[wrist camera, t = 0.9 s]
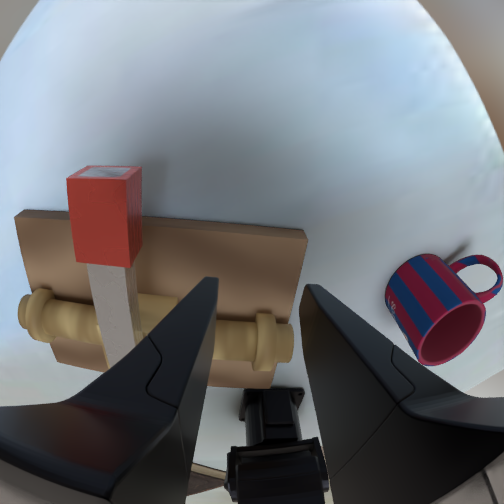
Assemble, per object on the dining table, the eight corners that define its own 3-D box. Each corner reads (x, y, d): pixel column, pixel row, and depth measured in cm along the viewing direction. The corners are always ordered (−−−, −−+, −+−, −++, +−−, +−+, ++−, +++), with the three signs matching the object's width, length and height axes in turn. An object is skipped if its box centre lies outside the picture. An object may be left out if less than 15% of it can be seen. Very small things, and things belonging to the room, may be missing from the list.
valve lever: (155, 375, 20) (150, 399, 18) (118, 369, 19) (111, 393, 17) (141, 166, 13) (126, 179, 11) (87, 165, 13) (66, 178, 11)
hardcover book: (106, 470, 45) (104, 479, 43) (153, 447, 38) (151, 459, 36) (171, 492, 51) (170, 500, 49) (235, 472, 43) (235, 483, 41)
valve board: (268, 377, 29) (274, 429, 24) (62, 352, 27) (41, 395, 21) (303, 230, 21) (326, 279, 16) (24, 209, 19) (-22, 245, 14)
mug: (374, 281, 24) (408, 337, 18) (463, 219, 22) (513, 258, 16) (396, 326, 27) (424, 377, 21) (474, 271, 24) (513, 311, 18)
